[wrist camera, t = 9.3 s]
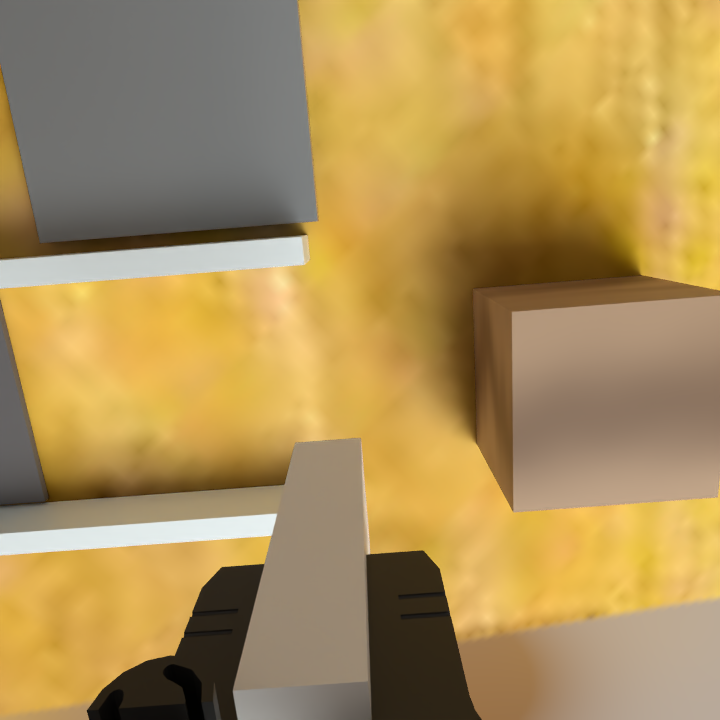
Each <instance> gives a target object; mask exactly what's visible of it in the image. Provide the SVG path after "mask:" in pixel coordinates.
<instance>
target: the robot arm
mask: <svg viewBox="0 0 720 720" xmlns="http://www.w3.org/2000/svg"><path fill="white" fill-rule="evenodd" d="M192 613H193V614H192V617H190V619H189V622H188V624H187V627H186V629H185V632H184V638H182V639H181V642H180V644H179V647H178V649H177V652H176V654H175V656H166V657H162V658H157V659H153V660H148V661H145V662H143V663H141V664H139V665H137V666H135V667H133V668H131V669H129V670H127V671H125V672H123V673H122V674H121V675H120V676H118V677H117V678H116V679H115V680H114V681H112V682H111V683H110V684H109V685H107V686H106V687H105V688H104V689H102V691H101V692H100V694H99V695H98V696H97V698H96V699H95V700H94V702H93V703H92V704H91V706H90V707H89V708H88V710H87V713H88V716H89V720H481V718H480V717H479V715H478V714H477V712H476V711H475V709H474V706H473V703H472V701H471V698H470V696H469V692H468V687H467V683H466V679H465V675H464V671H463V666H462V662H461V658H460V653H459V649H458V645H457V641H456V636H455V632H454V628H453V624H452V619H451V616H450V611H449V607H448V602H447V598H446V596H445V590H444V586H443V581H442V577H441V573H440V569H439V568H438V566H437V565H436V564H435V563H434V562H433V561H432V560H431V559H430V558H429V556H428V555H427V554H426V553H425V552H424V551H409V552H395V553H381V554H370V541H369V529H368V517H367V505H366V493H365V481H364V469H363V457H362V445H361V438H352V439H338V440H325V441H312V442H298V443H295V445H294V449H293V453H292V457H291V461H290V465H289V469H288V473H287V477H286V481H285V485H284V489H283V493H282V497H281V501H280V505H279V509H278V513H277V517H276V521H275V525H274V529H273V533H272V537H271V541H270V545H269V548H268V552H267V556H266V560H265V564H259V565H245V566H231V567H222V568H221V569H220V570H219V571H218V572H217V573H216V574H215V575H214V576H213V577H212V578H211V579H210V580H209V581H208V582H207V583H206V584H205V585H204V586H203V588H202V589H201V592H200V594H199V597H198V599H197V602H196V604H195V607H194V609H193V612H192Z"/></svg>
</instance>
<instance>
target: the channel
mask: <svg viewBox="0 0 720 720" xmlns="http://www.w3.org/2000/svg"><path fill="white" fill-rule="evenodd" d="M309 260H310V254H309V244H308V235H298V236H285V237H273V238H260V239H247V240H235V241H222V242H209V243H197V244H184V245H172V246H159V247H146V248H134V249H121V250H108V251H96V252H83V253H70V254H58V255H45V256H33V257H20V258H7V259H0V289H1V288H14V287H26V286H39V285H52V284H65V283H77V282H90V281H103V280H116V279H128V278H141V277H154V276H167V275H179V274H192V273H205V272H218V271H230V270H243V269H256V268H268V267H281V266H294V265H305V264H306V263H307V262H308V261H309ZM283 489H284V485H275V486H262V487H248V488H235V489H221V490H208V491H194V492H180V493H167V494H153V495H140V496H126V497H113V498H99V499H85V500H72V501H58V502H45V501H46V500H47V499H49V497H48V493H47V489H46V485H45V481H44V476H43V472H42V468H41V464H40V460H39V456H38V452H37V448H36V444H35V440H34V436H33V432H32V428H31V423H30V419H29V415H28V411H27V407H26V403H25V399H24V395H23V391H22V387H21V383H20V379H19V375H18V370H17V366H16V362H15V358H14V354H13V350H12V346H11V342H10V338H9V334H8V330H7V326H6V322H5V317H4V313H3V309H2V305H1V301H0V505H4V506H0V555H12V554H25V553H39V552H53V551H67V550H81V549H94V548H108V547H122V546H136V545H149V544H163V543H177V542H191V541H205V540H218V539H232V538H246V537H260V536H272V533H273V529H274V525H275V521H276V517H277V513H278V509H279V505H280V501H281V497H282V493H283ZM32 502H45V503H32ZM18 503H31V504H18ZM5 504H18V505H5Z"/></svg>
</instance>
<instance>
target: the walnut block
mask: <svg viewBox="0 0 720 720" xmlns="http://www.w3.org/2000/svg"><path fill="white" fill-rule="evenodd" d="M473 314H474V353H475V391H476V430H477V445H478V447H479V449H480V451H481V453H482V454H483V456H484V458H485V460H486V462H487V464H488V466H489V468H490V469H491V471H492V473H493V475H494V477H495V479H496V481H497V482H498V484H499V486H500V488H501V490H502V492H503V494H504V496H505V497H506V499H507V501H508V503H509V505H510V507H511V509H512V510H513V512H525V511H538V510H552V509H565V508H579V507H593V506H606V505H620V504H634V503H647V502H661V501H675V500H688V499H702V498H715V497H718V489H719V479H720V291H719V290H713V289H708V288H703V287H698V286H693V285H688V284H683V283H678V282H673V281H668V280H663V279H658V278H653V277H648V276H642V275H638V276H625V277H613V278H600V279H588V280H575V281H562V282H550V283H537V284H525V285H512V286H499V287H487V288H474V289H473Z"/></svg>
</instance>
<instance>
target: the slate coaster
mask: <svg viewBox="0 0 720 720" xmlns="http://www.w3.org/2000/svg"><path fill="white" fill-rule="evenodd" d="M0 64H1V69H2V74H3V78H4V83H5V87H6V92H7V96H8V101H9V105H10V110H11V114H12V119H13V123H14V128H15V132H16V137H17V141H18V146H19V150H20V155H21V160H22V164H23V169H24V173H25V178H26V182H27V187H28V191H29V196H30V200H31V205H32V209H33V214H34V218H35V223H36V227H37V232H38V237H39V241H40V243H49V242H61V241H74V240H87V239H99V238H112V237H124V236H137V235H149V234H162V233H175V232H187V231H200V230H212V229H225V228H238V227H250V226H263V225H275V224H288V223H301V222H313V221H319V219H318V208H317V197H316V186H315V176H314V165H313V154H312V143H311V133H310V122H309V111H308V100H307V90H306V79H305V68H304V57H303V47H302V36H301V25H300V15H299V4H298V0H0Z"/></svg>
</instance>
